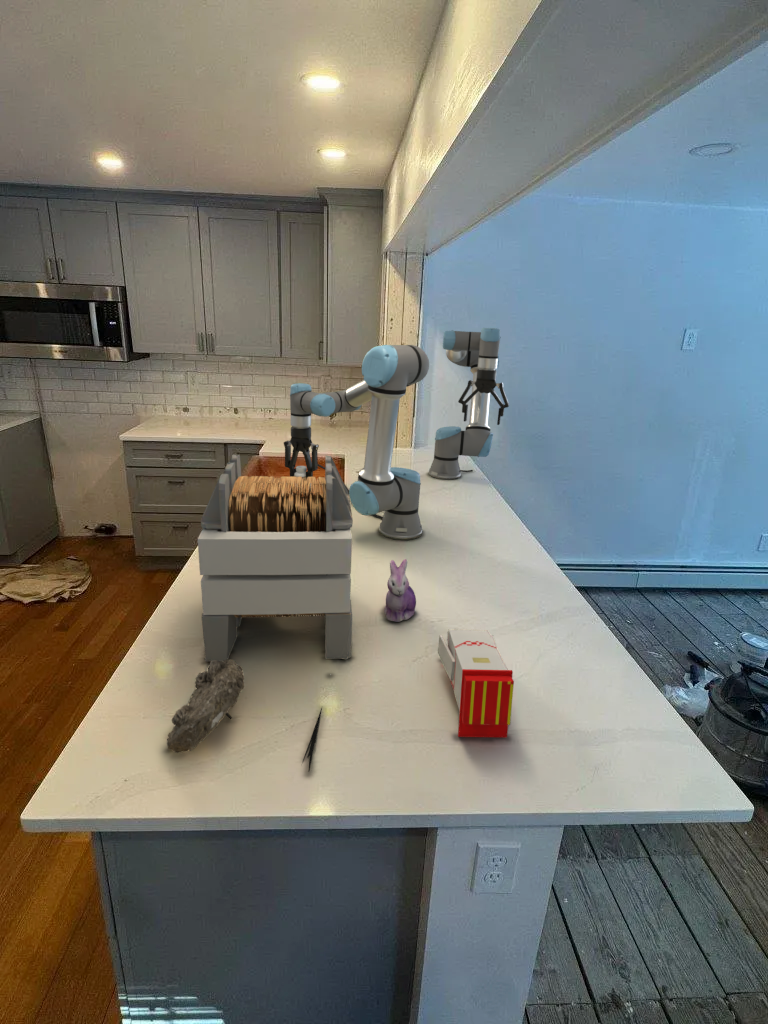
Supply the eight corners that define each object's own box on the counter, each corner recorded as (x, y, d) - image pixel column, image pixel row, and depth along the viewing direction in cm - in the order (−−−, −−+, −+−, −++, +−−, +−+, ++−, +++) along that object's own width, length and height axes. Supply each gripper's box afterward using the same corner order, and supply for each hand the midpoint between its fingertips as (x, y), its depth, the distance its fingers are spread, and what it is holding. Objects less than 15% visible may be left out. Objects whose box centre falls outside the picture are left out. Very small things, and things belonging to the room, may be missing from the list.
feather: (331, 679, 122) (336, 673, 122) (307, 777, 96) (313, 769, 95) (324, 675, 122) (329, 669, 121) (298, 772, 95) (304, 764, 95)
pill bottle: (305, 492, 214) (305, 469, 211) (292, 490, 215) (292, 468, 212) (310, 488, 219) (310, 466, 216) (297, 486, 220) (297, 464, 217)
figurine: (392, 627, 141) (395, 572, 136) (374, 608, 149) (376, 556, 144) (425, 619, 145) (429, 566, 140) (405, 601, 154) (408, 550, 149)
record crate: (225, 590, 155) (217, 445, 141) (345, 589, 159) (348, 447, 145) (202, 664, 123) (188, 485, 110) (352, 660, 127) (356, 487, 113)
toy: (488, 613, 130) (523, 677, 101) (484, 667, 133) (517, 744, 104) (435, 612, 130) (455, 676, 101) (432, 666, 133) (451, 743, 103)
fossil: (192, 660, 117) (244, 628, 112) (224, 691, 120) (276, 661, 115) (142, 746, 98) (202, 712, 93) (182, 779, 101) (242, 748, 96)
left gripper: (327, 427, 209) (327, 487, 217) (283, 422, 215) (284, 480, 223) (319, 431, 203) (318, 492, 211) (273, 425, 208) (275, 486, 216)
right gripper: (520, 370, 223) (513, 424, 231) (457, 366, 230) (453, 418, 237) (518, 372, 217) (511, 427, 224) (454, 367, 224) (449, 421, 231)
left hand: (301, 486), depth 217 cm, fingers closed on pill bottle, 5 cm apart
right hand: (481, 422), depth 231 cm, fingers open, 13 cm apart
